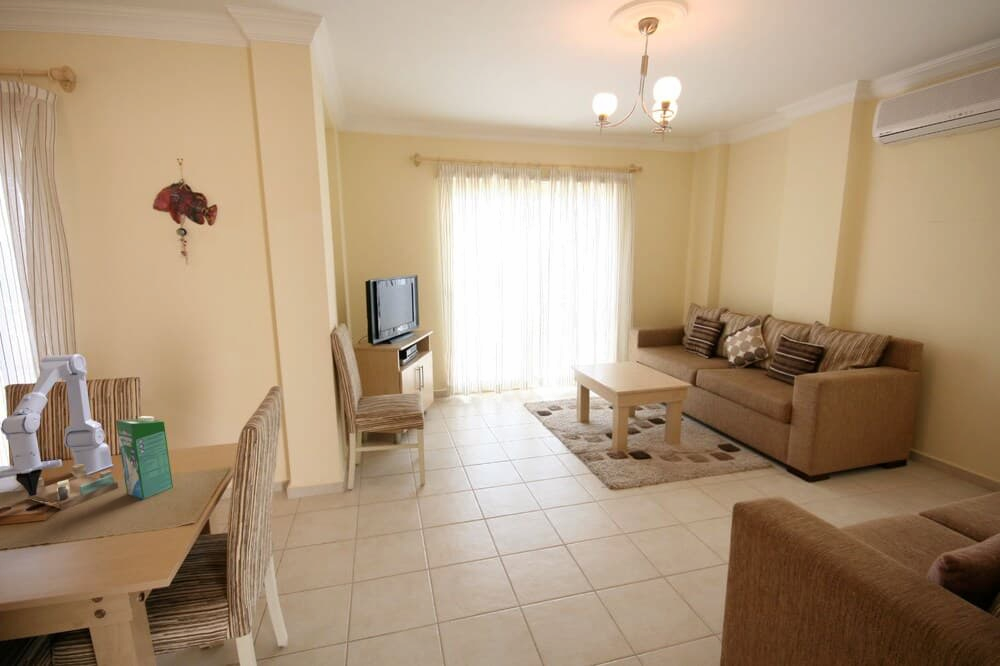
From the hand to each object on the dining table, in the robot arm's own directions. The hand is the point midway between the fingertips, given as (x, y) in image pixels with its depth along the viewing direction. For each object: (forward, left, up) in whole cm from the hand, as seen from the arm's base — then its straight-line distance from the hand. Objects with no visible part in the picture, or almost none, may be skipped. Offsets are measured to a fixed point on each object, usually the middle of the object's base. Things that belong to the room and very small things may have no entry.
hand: (33, 494), depth 142 cm
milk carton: (-19, +24, -4) cm, 31 cm away
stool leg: (-5, +5, -1) cm, 7 cm away
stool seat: (-9, +2, -4) cm, 10 cm away
